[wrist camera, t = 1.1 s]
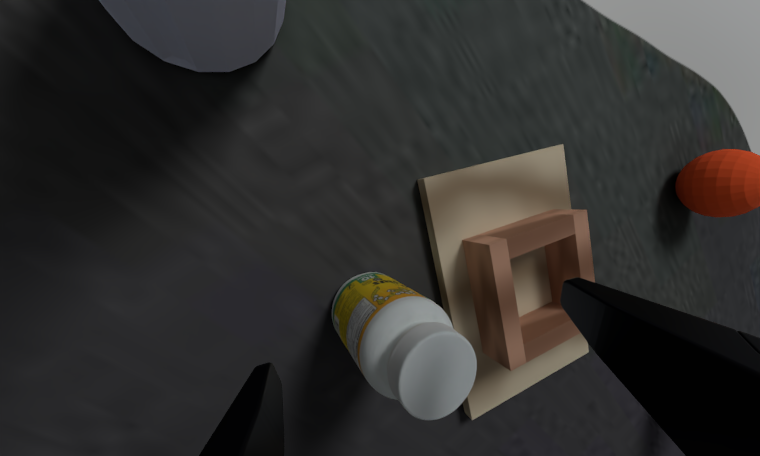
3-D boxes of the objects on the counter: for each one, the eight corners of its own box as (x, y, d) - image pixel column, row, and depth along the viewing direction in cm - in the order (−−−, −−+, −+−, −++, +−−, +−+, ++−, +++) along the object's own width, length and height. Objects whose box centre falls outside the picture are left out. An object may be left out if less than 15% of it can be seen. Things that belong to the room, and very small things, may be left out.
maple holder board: (578, 347, 31) (622, 367, 27) (464, 412, 26) (498, 447, 22) (552, 146, 28) (598, 137, 24) (417, 179, 23) (447, 175, 19)
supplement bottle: (316, 329, 21) (359, 422, 12) (351, 258, 22) (416, 297, 13) (382, 352, 23) (459, 447, 14) (412, 286, 24) (506, 337, 15)
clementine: (707, 175, 37) (804, 169, 30) (689, 228, 36) (784, 234, 30) (673, 143, 34) (773, 129, 27) (653, 200, 34) (750, 200, 27)
